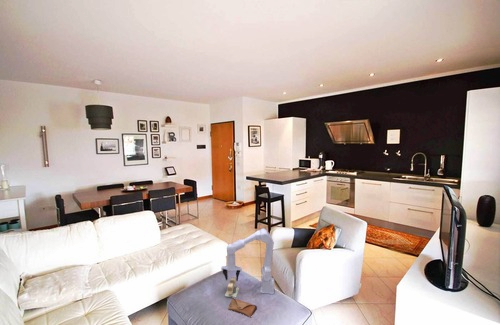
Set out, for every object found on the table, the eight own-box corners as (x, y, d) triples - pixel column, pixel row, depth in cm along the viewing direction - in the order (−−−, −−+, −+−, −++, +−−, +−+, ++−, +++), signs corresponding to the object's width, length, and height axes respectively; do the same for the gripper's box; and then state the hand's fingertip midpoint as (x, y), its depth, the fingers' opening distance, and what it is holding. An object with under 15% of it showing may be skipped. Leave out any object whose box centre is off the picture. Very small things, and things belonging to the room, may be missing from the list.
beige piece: (231, 294, 155) (231, 287, 155) (227, 294, 156) (227, 287, 155) (235, 283, 167) (235, 277, 166) (231, 283, 167) (231, 277, 167)
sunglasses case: (226, 309, 145) (228, 297, 148) (231, 308, 151) (233, 297, 153) (251, 318, 137) (253, 305, 140) (255, 316, 143) (257, 304, 146)
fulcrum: (239, 288, 166) (239, 284, 166) (236, 297, 156) (235, 293, 156) (228, 287, 168) (228, 283, 167) (224, 296, 158) (224, 292, 158)
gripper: (242, 259, 163) (243, 277, 164) (223, 258, 165) (223, 275, 166) (240, 264, 156) (241, 283, 157) (220, 263, 158) (220, 281, 159)
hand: (231, 279), depth 161 cm, fingers open, 7 cm apart
